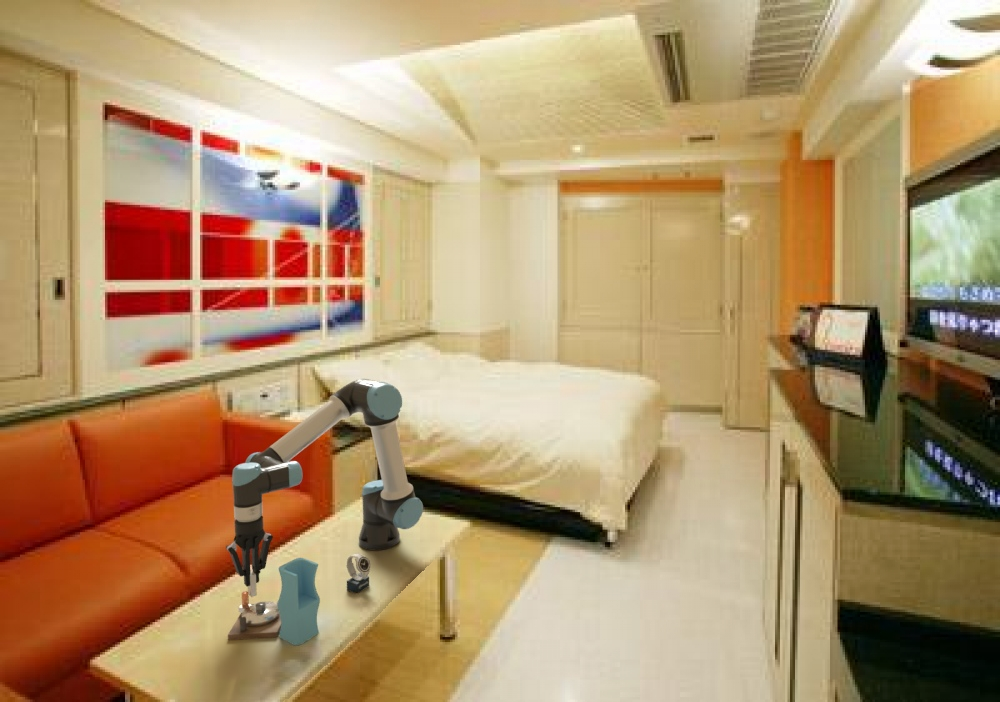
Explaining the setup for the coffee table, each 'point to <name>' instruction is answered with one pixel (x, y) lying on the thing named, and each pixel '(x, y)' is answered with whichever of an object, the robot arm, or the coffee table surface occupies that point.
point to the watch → (358, 580)
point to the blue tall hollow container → (298, 601)
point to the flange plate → (260, 617)
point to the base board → (254, 629)
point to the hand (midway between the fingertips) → (252, 594)
